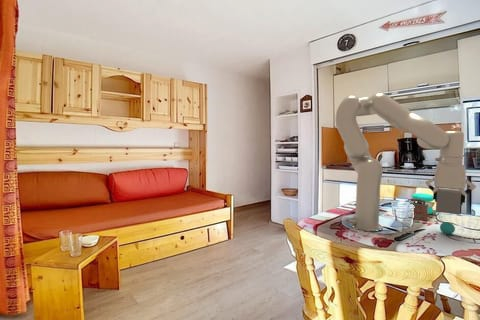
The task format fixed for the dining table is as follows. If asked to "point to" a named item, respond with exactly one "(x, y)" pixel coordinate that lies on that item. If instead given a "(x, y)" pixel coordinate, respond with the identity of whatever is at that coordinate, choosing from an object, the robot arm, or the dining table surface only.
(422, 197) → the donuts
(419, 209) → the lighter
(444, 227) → the ball
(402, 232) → the dining table surface
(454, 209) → the taupe cardboard-like cube
